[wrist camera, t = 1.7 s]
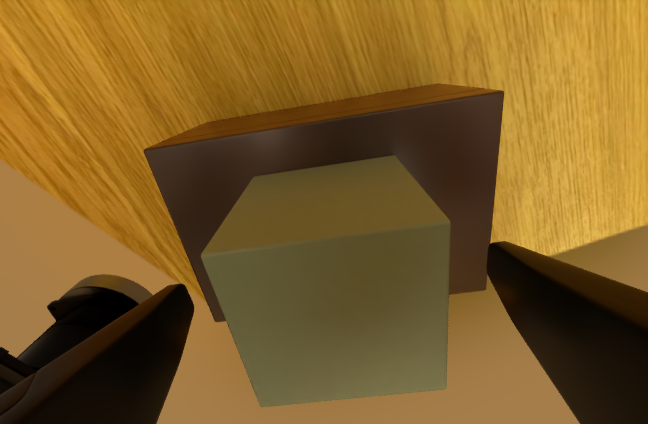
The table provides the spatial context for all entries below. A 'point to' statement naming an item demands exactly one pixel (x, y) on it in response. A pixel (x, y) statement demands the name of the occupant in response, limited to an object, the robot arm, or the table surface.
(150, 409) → the robot arm
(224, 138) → the block
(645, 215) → the table surface
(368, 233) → the block
